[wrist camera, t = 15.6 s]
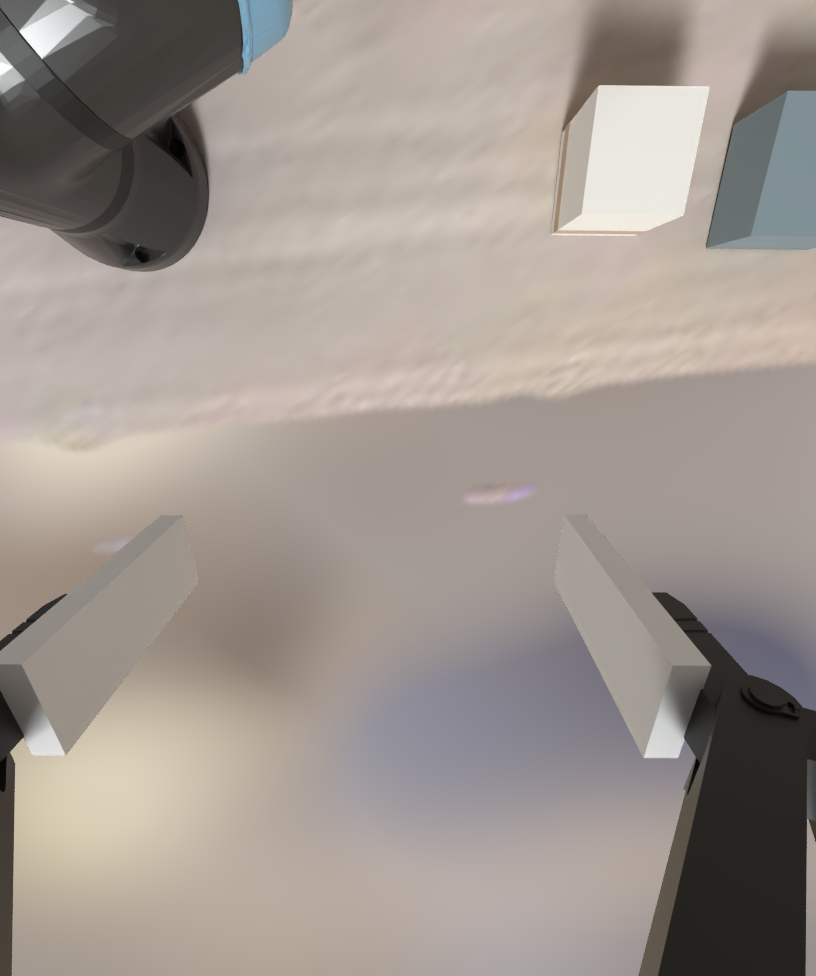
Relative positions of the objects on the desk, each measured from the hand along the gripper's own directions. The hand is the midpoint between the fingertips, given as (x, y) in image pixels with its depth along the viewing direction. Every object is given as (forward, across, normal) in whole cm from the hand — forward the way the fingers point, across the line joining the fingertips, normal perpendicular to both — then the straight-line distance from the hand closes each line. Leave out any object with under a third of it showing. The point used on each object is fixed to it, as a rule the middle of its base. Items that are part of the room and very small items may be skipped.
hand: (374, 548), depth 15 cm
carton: (+35, +19, +18) cm, 43 cm away
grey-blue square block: (+35, +35, +17) cm, 52 cm away
